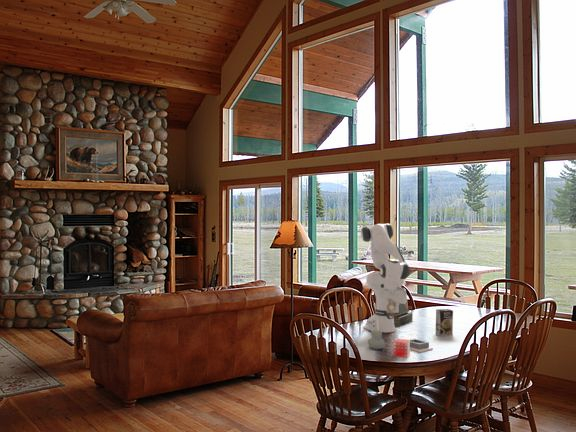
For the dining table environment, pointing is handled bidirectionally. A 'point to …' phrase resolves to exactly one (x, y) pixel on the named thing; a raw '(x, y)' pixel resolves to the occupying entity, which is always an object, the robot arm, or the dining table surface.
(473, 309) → the dining table surface
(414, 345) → the socket board
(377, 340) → the air freshener
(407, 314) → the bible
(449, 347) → the dining table surface
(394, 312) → the banded block
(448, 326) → the coffee box
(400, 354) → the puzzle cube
